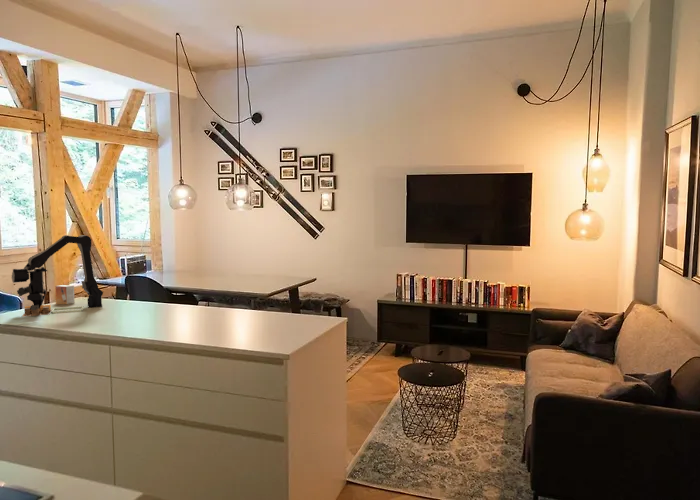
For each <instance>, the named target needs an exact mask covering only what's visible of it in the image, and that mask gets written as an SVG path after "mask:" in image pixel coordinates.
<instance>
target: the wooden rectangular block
mask: <svg viewBox="0 0 700 500" xmlns="http://www.w3.org/2000/svg"><path fill="white" fill-rule="evenodd" d="M31 306H32V305H26V306H24V309H25V308H30V307H31ZM43 307H49V312H50V311H51V310H52V306H51V304H42V305H41V306H40V309H39V312H43ZM31 313H32V310H31Z"/></svg>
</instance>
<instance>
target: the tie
mask: <svg viewBox="0 0 700 500" xmlns="http://www.w3.org/2000/svg"><path fill="white" fill-rule="evenodd" d="M30 306H31V307H30V309H31V310H36V309H38V308H39V305H34V304H32V305H30Z"/></svg>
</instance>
